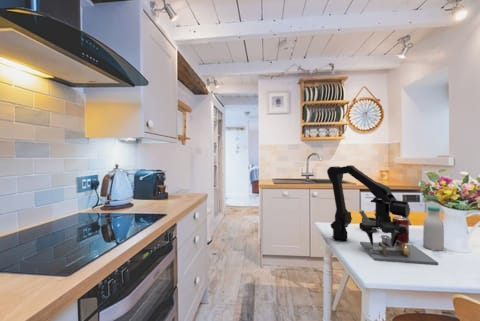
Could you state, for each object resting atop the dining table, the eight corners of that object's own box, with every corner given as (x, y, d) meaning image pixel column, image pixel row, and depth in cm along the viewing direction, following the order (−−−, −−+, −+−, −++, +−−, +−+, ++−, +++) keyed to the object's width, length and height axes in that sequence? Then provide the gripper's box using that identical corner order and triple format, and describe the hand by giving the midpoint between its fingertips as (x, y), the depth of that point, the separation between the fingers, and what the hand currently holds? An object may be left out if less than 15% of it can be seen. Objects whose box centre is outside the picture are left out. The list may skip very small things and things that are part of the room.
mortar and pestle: (378, 229, 145) (378, 209, 145) (382, 233, 136) (382, 213, 136) (357, 227, 149) (357, 208, 149) (360, 232, 140) (360, 211, 140)
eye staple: (383, 258, 103) (383, 246, 103) (378, 254, 108) (378, 242, 108) (386, 259, 103) (386, 246, 103) (381, 254, 108) (381, 242, 108)
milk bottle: (445, 252, 110) (445, 209, 109) (424, 249, 114) (424, 207, 113) (442, 246, 116) (442, 206, 116) (422, 243, 120) (422, 204, 120)
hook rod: (372, 254, 104) (372, 244, 104) (368, 250, 109) (368, 241, 109) (410, 257, 102) (410, 247, 101) (405, 253, 106) (405, 243, 106)
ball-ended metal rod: (378, 242, 119) (378, 235, 119) (385, 242, 120) (385, 234, 120) (400, 251, 107) (400, 243, 107) (407, 250, 108) (407, 242, 108)
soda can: (411, 243, 121) (411, 220, 120) (395, 242, 122) (395, 219, 122) (404, 238, 128) (404, 216, 128) (389, 238, 129) (389, 216, 129)
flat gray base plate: (374, 260, 102) (374, 258, 102) (360, 243, 121) (360, 241, 121) (438, 264, 97) (438, 262, 97) (412, 246, 117) (412, 244, 117)
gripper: (366, 216, 105) (366, 250, 105) (413, 218, 102) (413, 254, 102) (359, 210, 116) (359, 242, 116) (401, 212, 112) (401, 244, 113)
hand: (382, 245), depth 112 cm, fingers open, 8 cm apart
